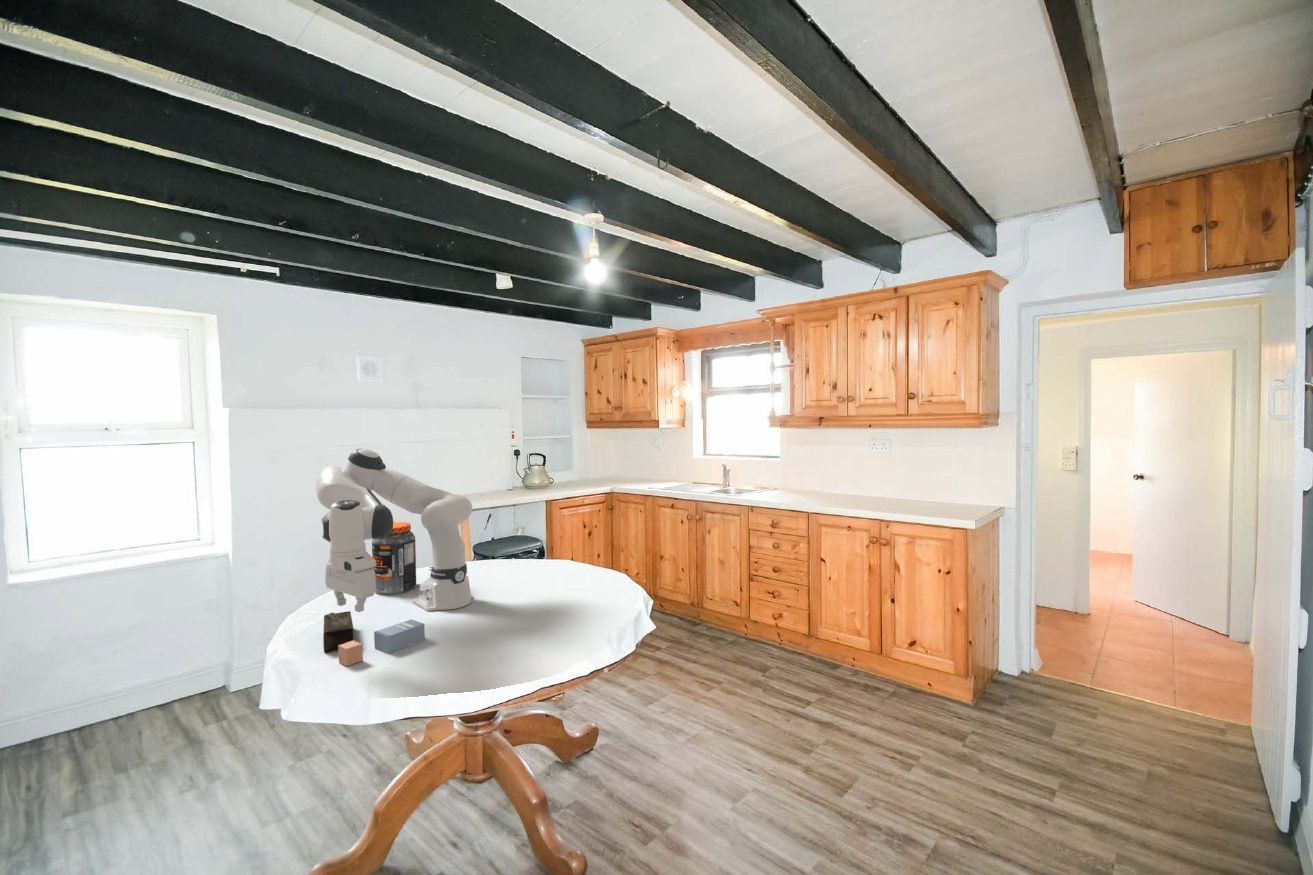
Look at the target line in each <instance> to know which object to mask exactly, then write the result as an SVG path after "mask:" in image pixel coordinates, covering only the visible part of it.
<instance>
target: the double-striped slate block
mask: <svg viewBox="0 0 1313 875" xmlns="http://www.w3.org/2000/svg"><path fill="white" fill-rule="evenodd" d="M425 633H426V631H425V623H423V622H421V621H417V620H414V619H409V620H405V621H402V622H399V623H396V624H393V625H390V626H387V627H385V628H381V629H378V630H376V631H373V636H374V637H373V638H374V640H373V642H374V649H375V650H378V651H380V652H382V653H385V654H390V653H394V652H396V651H398V650H401V649H404V648H407V647H410V646H412V645H414V644H418V643H420V642H423V641H425V640H426V634H425Z"/></svg>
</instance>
